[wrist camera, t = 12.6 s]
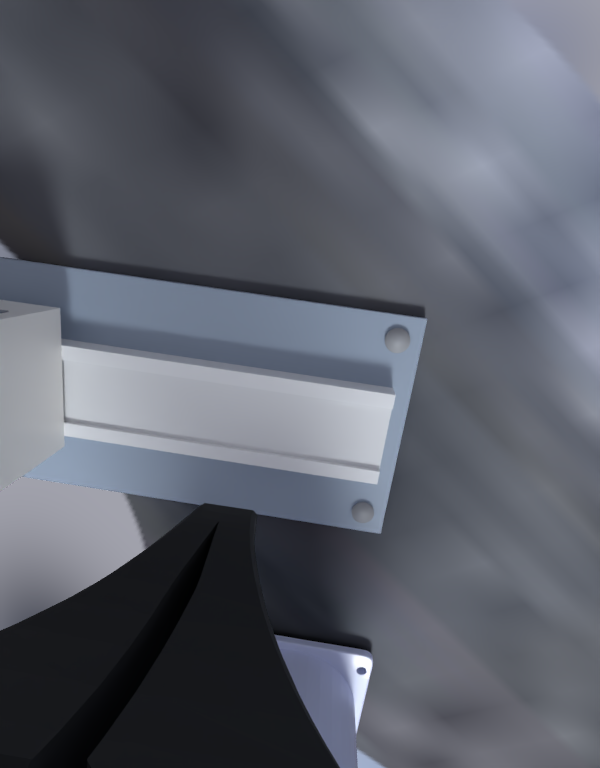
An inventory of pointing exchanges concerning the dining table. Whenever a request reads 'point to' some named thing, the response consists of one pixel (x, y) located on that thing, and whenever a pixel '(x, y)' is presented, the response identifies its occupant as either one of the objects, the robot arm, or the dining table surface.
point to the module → (29, 388)
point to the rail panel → (225, 394)
